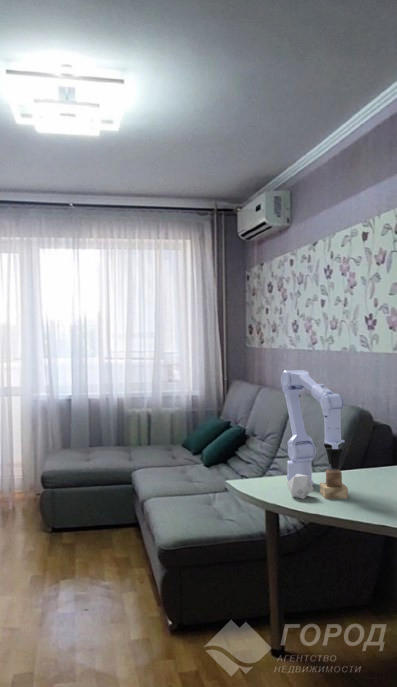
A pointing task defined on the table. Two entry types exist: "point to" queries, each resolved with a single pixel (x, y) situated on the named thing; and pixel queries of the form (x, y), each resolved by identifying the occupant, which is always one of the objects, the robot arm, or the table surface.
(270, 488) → the table surface
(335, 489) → the oak block
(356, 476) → the table surface
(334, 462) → the robot arm
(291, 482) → the white faceted polyhedron
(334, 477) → the walnut cube
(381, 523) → the table surface
